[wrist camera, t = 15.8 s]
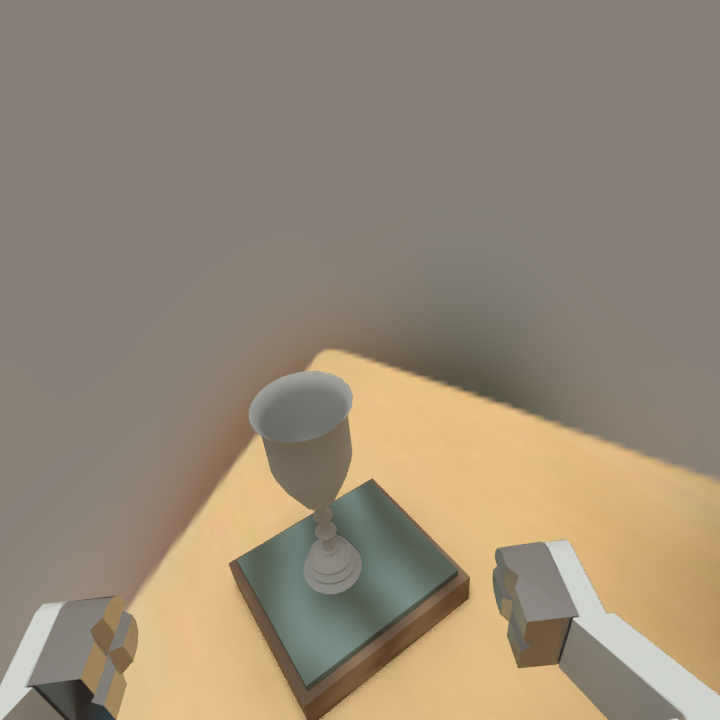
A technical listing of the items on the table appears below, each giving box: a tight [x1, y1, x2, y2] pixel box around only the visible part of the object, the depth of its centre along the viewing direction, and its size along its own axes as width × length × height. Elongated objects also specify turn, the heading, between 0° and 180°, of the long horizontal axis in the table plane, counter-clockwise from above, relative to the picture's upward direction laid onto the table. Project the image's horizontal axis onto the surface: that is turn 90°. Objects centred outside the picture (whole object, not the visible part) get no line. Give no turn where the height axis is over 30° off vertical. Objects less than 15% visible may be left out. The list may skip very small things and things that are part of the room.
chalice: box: [249, 371, 362, 594], centre depth 37 cm, size 7×7×18 cm
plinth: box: [229, 478, 470, 720], centre depth 43 cm, size 16×14×4 cm
